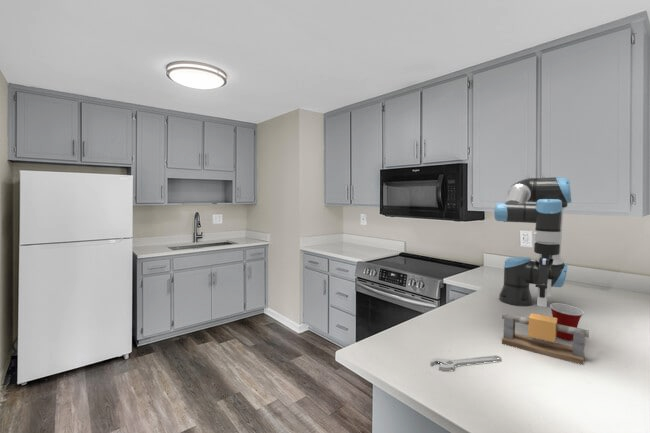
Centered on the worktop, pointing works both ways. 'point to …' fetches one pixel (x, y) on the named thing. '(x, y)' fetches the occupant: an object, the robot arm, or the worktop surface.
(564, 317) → the plastic cup
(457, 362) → the adjustable wrench
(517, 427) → the worktop surface
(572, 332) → the frame
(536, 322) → the block
